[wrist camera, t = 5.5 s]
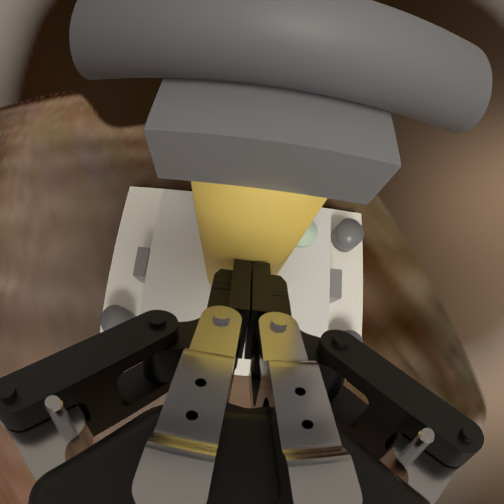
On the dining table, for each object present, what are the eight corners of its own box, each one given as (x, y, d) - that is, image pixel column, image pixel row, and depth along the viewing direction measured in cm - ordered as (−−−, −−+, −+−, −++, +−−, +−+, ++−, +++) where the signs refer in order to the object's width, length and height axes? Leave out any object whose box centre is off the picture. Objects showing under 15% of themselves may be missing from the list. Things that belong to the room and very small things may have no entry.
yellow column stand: (140, 337, 23) (-128, 238, 2) (165, 196, 27) (103, -62, 6) (321, 356, 24) (609, 317, 3) (326, 215, 27) (468, -5, 7)
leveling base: (103, 353, 26) (85, 352, 22) (133, 193, 31) (123, 172, 27) (352, 378, 27) (371, 381, 23) (355, 219, 32) (371, 202, 28)
